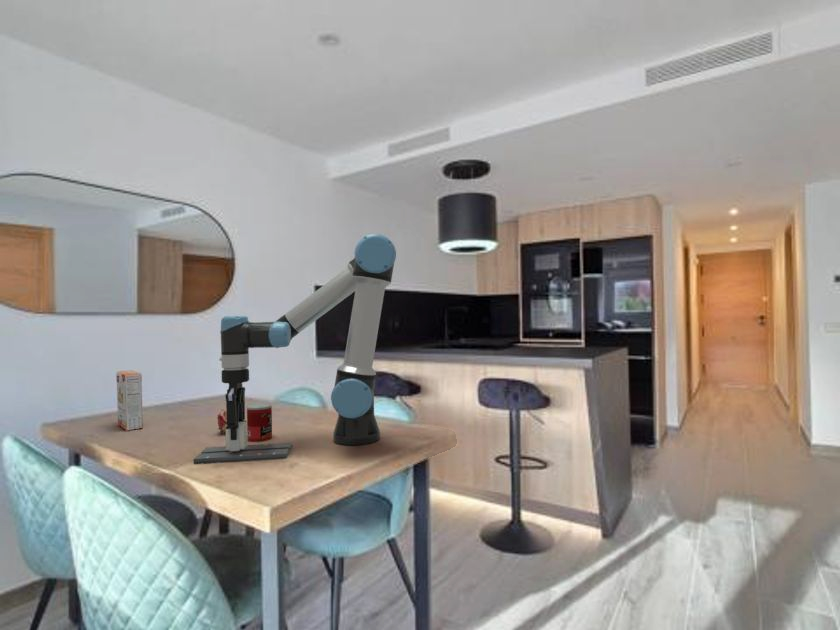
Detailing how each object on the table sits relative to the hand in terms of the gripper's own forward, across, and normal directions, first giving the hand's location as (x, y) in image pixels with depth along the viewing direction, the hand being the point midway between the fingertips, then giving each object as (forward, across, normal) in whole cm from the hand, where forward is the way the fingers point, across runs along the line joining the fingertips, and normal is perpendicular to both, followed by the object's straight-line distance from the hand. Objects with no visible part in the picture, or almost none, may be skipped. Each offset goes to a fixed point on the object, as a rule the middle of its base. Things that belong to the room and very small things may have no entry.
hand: (236, 448), depth 138 cm
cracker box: (+2, -48, -50) cm, 69 cm away
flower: (+2, -30, -9) cm, 31 cm away
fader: (+2, 0, 0) cm, 2 cm away
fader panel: (+2, 0, +2) cm, 3 cm away
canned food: (+2, -19, +3) cm, 19 cm away
